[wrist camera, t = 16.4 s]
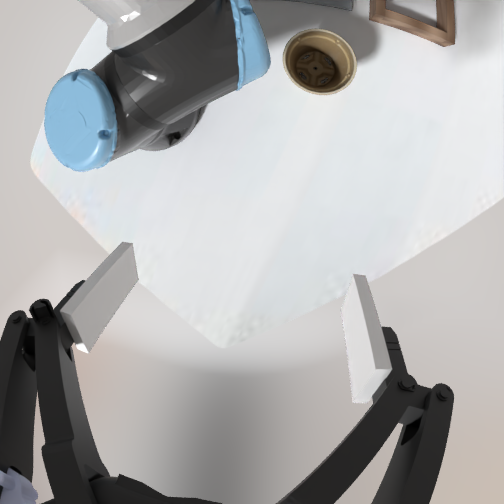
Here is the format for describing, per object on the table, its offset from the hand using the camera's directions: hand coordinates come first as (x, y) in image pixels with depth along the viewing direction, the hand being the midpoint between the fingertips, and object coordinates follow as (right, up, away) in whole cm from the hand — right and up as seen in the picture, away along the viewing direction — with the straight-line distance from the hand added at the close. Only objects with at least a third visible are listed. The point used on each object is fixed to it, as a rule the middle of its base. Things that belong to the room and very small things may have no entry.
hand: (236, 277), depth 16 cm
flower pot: (+10, +30, +20) cm, 37 cm away
